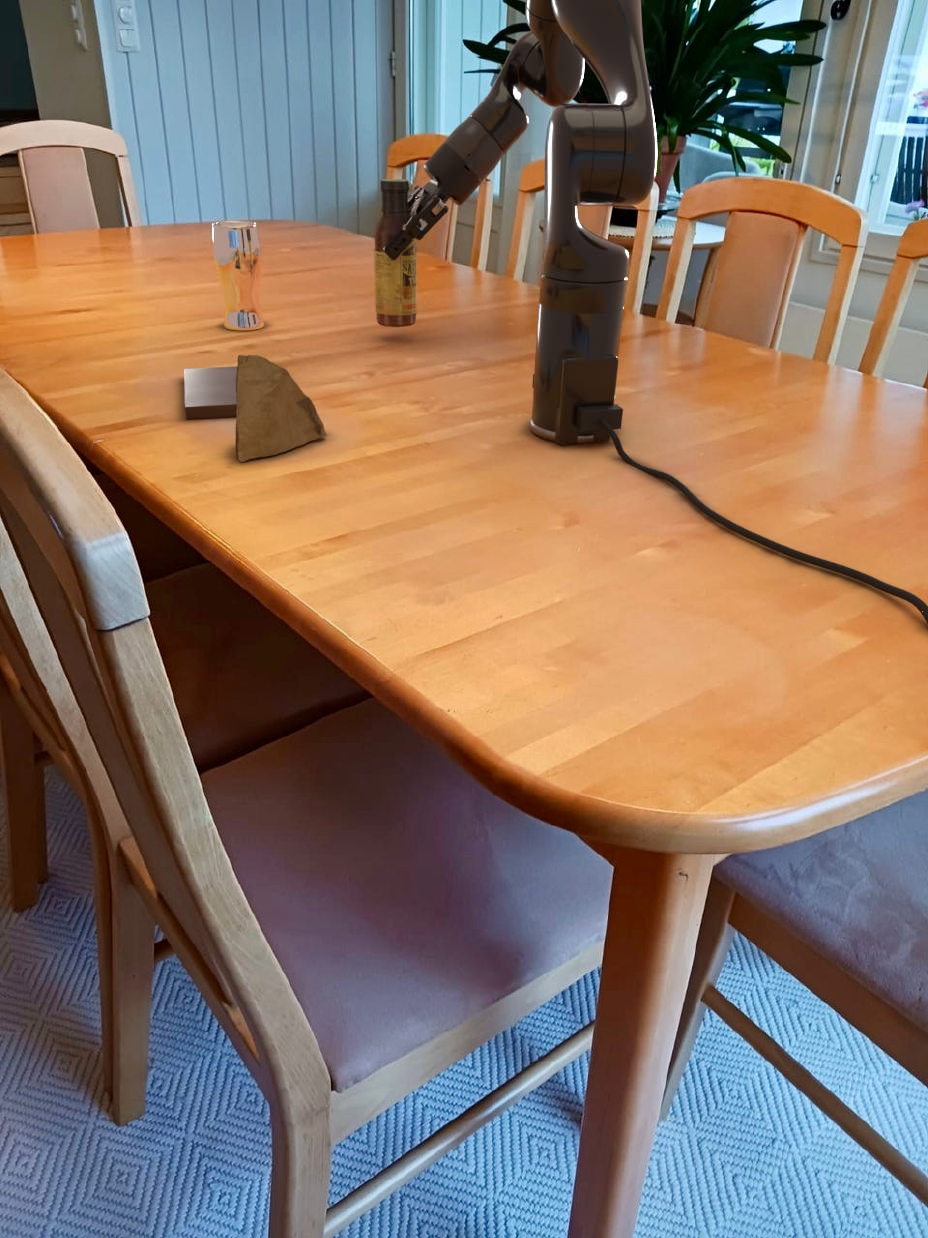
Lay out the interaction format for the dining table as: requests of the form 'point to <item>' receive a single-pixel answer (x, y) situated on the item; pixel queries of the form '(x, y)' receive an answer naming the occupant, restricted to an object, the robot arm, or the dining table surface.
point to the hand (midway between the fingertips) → (384, 251)
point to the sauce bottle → (394, 275)
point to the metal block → (210, 392)
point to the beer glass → (239, 272)
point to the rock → (271, 410)
